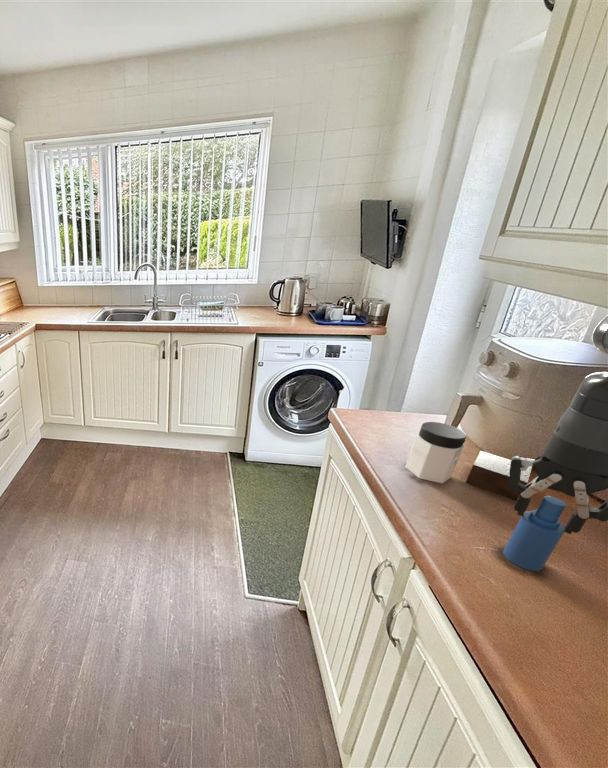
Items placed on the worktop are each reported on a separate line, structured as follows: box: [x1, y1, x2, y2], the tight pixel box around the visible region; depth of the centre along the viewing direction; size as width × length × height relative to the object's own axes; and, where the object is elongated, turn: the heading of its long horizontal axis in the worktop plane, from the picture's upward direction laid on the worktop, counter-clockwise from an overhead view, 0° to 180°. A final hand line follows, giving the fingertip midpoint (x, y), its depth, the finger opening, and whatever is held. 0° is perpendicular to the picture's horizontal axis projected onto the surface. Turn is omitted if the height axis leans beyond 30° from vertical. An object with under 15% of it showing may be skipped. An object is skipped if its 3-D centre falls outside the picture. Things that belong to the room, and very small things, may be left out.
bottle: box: [502, 495, 567, 572], centre depth 71 cm, size 5×5×14 cm
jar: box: [405, 421, 467, 485], centre depth 96 cm, size 9×8×12 cm
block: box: [465, 450, 533, 502], centre depth 93 cm, size 9×9×5 cm
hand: (543, 521), depth 70 cm, fingers closed on bottle, 5 cm apart
